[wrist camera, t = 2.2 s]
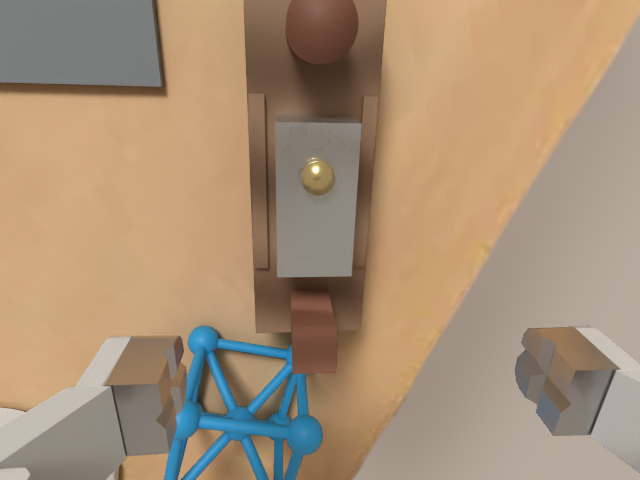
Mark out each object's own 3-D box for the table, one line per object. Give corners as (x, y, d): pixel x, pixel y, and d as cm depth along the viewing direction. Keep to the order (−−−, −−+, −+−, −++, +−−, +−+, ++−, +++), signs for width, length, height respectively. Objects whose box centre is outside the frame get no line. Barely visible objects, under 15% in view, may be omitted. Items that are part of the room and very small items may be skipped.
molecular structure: (316, 338, 34) (328, 438, 25) (288, 427, 37) (290, 544, 28) (193, 317, 32) (157, 417, 23) (176, 412, 36) (140, 532, 27)
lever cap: (342, 249, 25) (353, 281, 22) (277, 250, 25) (277, 282, 21) (350, 115, 22) (363, 125, 18) (276, 113, 22) (274, 123, 18)
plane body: (349, 293, 32) (375, 382, 23) (259, 294, 32) (250, 386, 23) (368, 3, 25) (418, -35, 15) (250, -3, 24) (230, -45, 15)
